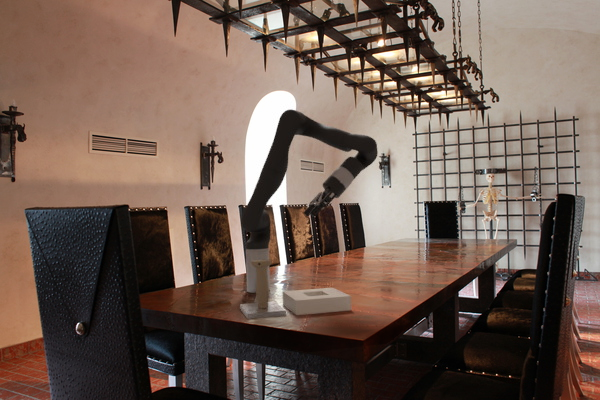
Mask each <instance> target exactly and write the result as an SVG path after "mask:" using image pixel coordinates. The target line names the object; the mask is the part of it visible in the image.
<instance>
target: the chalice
mask: <svg viewBox="0 0 600 400" xmlns="http://www.w3.org/2000/svg"><path fill="white" fill-rule="evenodd" d="M249 252H250V254H251V261H253V260H268V253H270V249H269V250H256V251H249ZM251 265H252V264H251ZM252 268H253V271H254V273H255V274H256V275H257V271H256V267H254V266H252ZM267 268H268V267H267ZM253 303H258V302H257V296H256V295H255V298H254V300H253Z"/></svg>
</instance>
